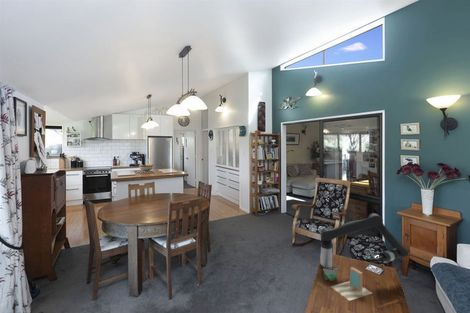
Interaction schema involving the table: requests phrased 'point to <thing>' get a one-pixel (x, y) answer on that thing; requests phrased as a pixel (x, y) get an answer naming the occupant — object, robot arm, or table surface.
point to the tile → (356, 279)
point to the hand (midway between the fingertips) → (370, 260)
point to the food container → (330, 273)
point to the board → (350, 291)
